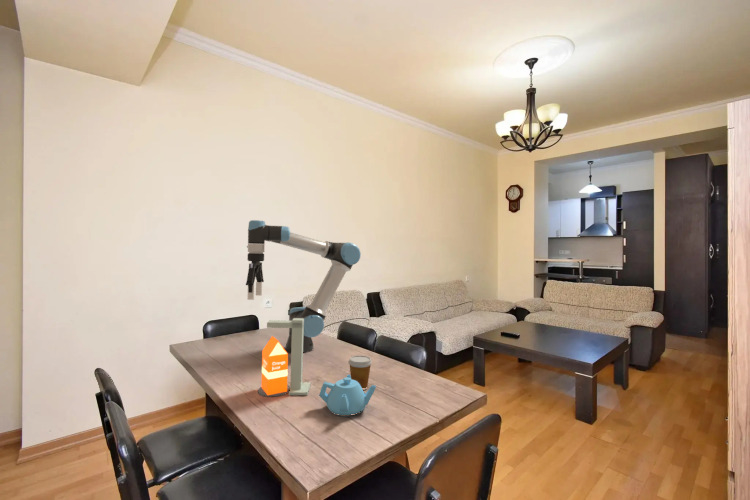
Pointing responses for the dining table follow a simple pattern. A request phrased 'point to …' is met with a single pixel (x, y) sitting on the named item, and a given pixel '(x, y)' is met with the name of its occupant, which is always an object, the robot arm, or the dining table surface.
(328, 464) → the dining table surface
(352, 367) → the disposable coffee cup
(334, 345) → the dining table surface
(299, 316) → the robot arm
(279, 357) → the orange juice
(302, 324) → the stand
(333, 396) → the teapot
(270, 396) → the seat pad
